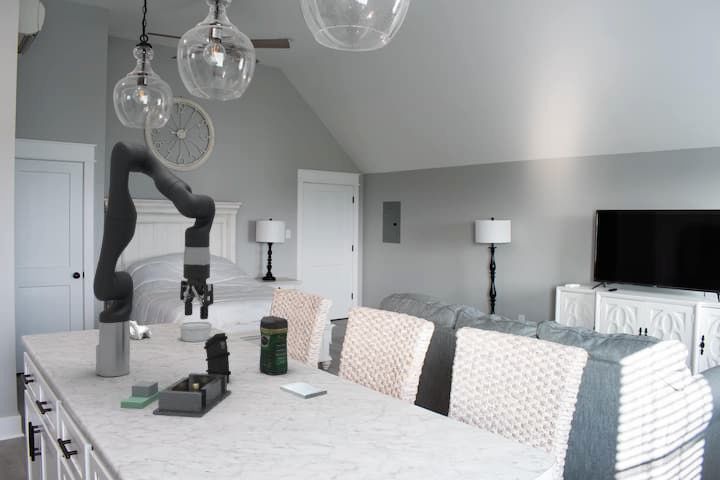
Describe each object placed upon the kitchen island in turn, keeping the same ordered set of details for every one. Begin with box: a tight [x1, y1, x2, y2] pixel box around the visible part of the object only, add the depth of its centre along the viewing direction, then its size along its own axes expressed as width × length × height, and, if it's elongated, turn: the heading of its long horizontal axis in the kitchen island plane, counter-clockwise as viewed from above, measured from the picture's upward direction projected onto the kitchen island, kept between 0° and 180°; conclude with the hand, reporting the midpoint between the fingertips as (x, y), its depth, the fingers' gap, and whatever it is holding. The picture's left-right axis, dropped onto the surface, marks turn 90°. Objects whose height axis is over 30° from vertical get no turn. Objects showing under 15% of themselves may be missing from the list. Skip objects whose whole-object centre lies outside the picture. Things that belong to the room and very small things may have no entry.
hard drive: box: [279, 381, 328, 400], centre depth 164 cm, size 2×8×12 cm
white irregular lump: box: [130, 320, 153, 341], centre depth 239 cm, size 12×6×11 cm, turn 51°
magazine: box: [203, 332, 232, 384], centre depth 176 cm, size 4×13×15 cm, turn 36°
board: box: [120, 380, 167, 410], centre depth 154 cm, size 14×6×5 cm, turn 172°
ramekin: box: [179, 320, 213, 343], centre depth 237 cm, size 13×13×7 cm
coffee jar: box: [259, 315, 289, 375], centre depth 186 cm, size 10×8×19 cm
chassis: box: [152, 372, 232, 418], centre depth 152 cm, size 21×13×6 cm, turn 172°
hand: (196, 317), depth 164 cm, fingers open, 8 cm apart
